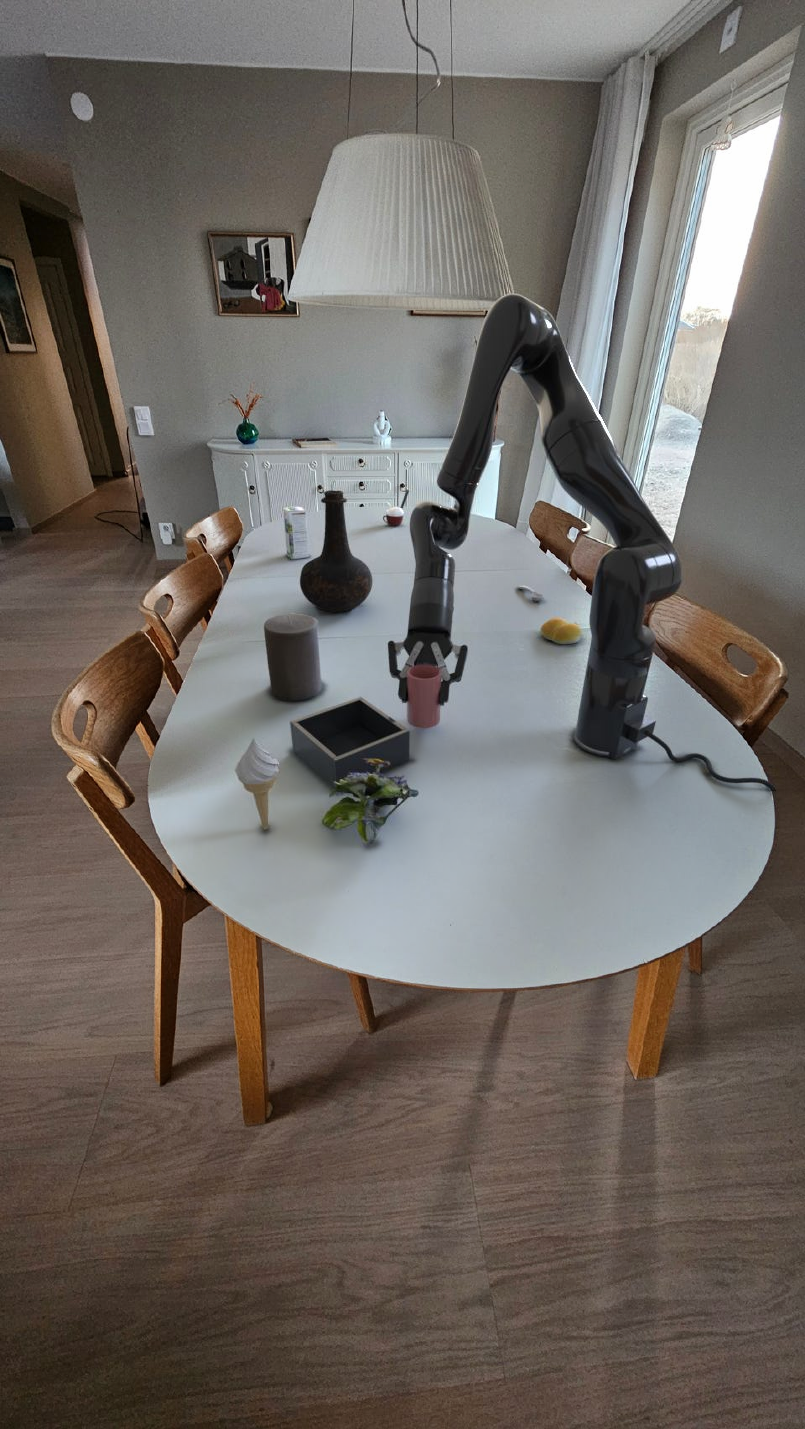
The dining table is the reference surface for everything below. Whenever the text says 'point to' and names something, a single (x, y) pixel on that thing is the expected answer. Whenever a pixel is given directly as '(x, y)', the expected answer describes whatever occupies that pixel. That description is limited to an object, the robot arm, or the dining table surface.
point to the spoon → (534, 595)
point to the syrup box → (296, 532)
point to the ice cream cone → (258, 776)
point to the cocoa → (395, 513)
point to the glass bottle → (335, 565)
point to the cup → (423, 695)
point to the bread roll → (561, 631)
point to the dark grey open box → (349, 740)
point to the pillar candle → (293, 656)
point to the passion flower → (366, 799)
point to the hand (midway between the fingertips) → (422, 702)
